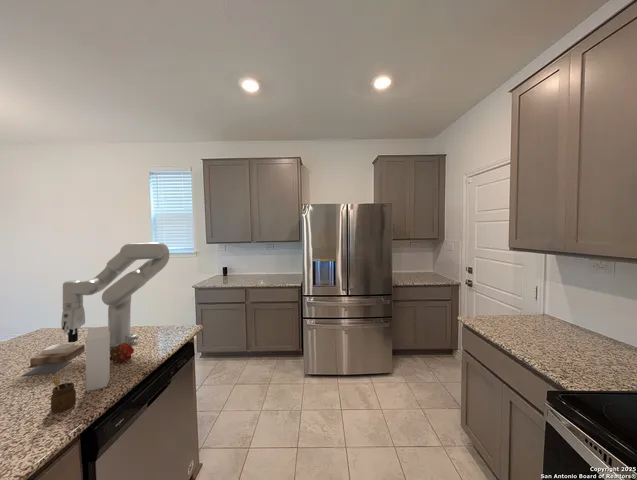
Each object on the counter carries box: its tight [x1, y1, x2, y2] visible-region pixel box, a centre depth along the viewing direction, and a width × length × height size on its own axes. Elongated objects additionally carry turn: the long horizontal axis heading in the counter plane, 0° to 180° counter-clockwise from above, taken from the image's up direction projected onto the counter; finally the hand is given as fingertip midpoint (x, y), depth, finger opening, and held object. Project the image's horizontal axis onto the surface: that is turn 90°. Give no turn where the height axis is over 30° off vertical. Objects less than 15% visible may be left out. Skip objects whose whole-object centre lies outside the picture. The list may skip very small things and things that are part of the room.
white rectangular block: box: [41, 343, 75, 354], centre depth 123 cm, size 9×6×2 cm, turn 102°
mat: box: [21, 361, 72, 377], centre depth 112 cm, size 11×10×1 cm
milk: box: [85, 325, 111, 392], centre depth 100 cm, size 6×6×22 cm
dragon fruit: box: [110, 343, 134, 364], centre depth 120 cm, size 8×8×12 cm
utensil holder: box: [50, 370, 77, 414], centre depth 86 cm, size 6×6×12 cm
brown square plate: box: [29, 344, 86, 366], centre depth 123 cm, size 13×13×3 cm
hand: (73, 341), depth 133 cm, fingers closed
